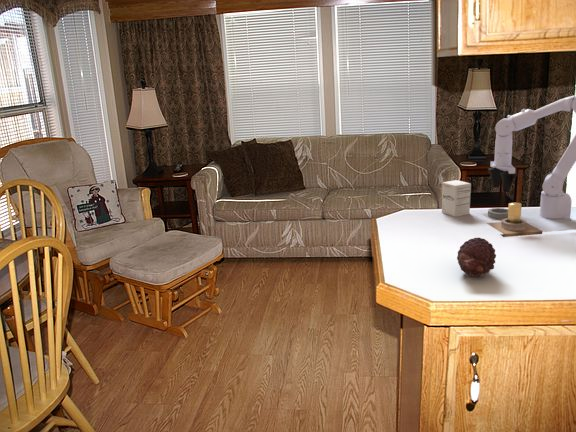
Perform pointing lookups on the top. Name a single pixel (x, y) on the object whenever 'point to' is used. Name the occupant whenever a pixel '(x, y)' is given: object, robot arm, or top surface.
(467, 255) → the pine cone
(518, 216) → the brass peg
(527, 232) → the hub board
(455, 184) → the supplement box
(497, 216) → the spline stand
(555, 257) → the top surface
